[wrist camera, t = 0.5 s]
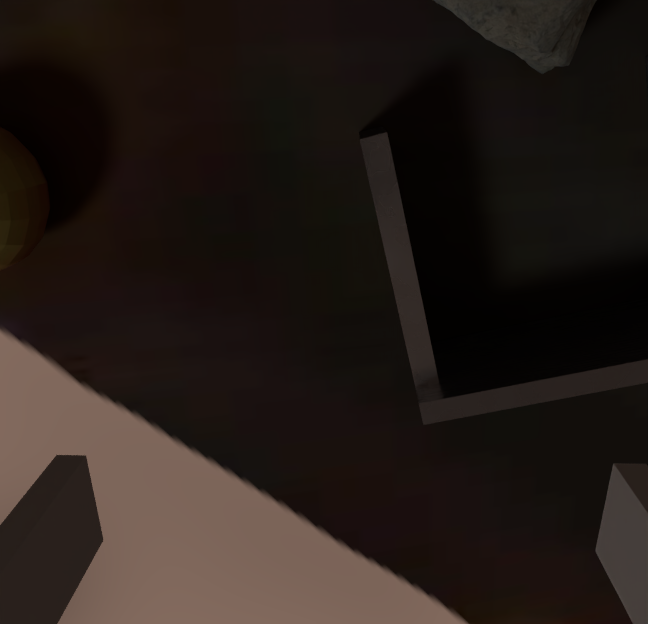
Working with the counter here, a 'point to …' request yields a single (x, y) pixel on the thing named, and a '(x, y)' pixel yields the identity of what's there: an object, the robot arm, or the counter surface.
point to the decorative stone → (528, 26)
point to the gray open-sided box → (500, 332)
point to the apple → (20, 200)
